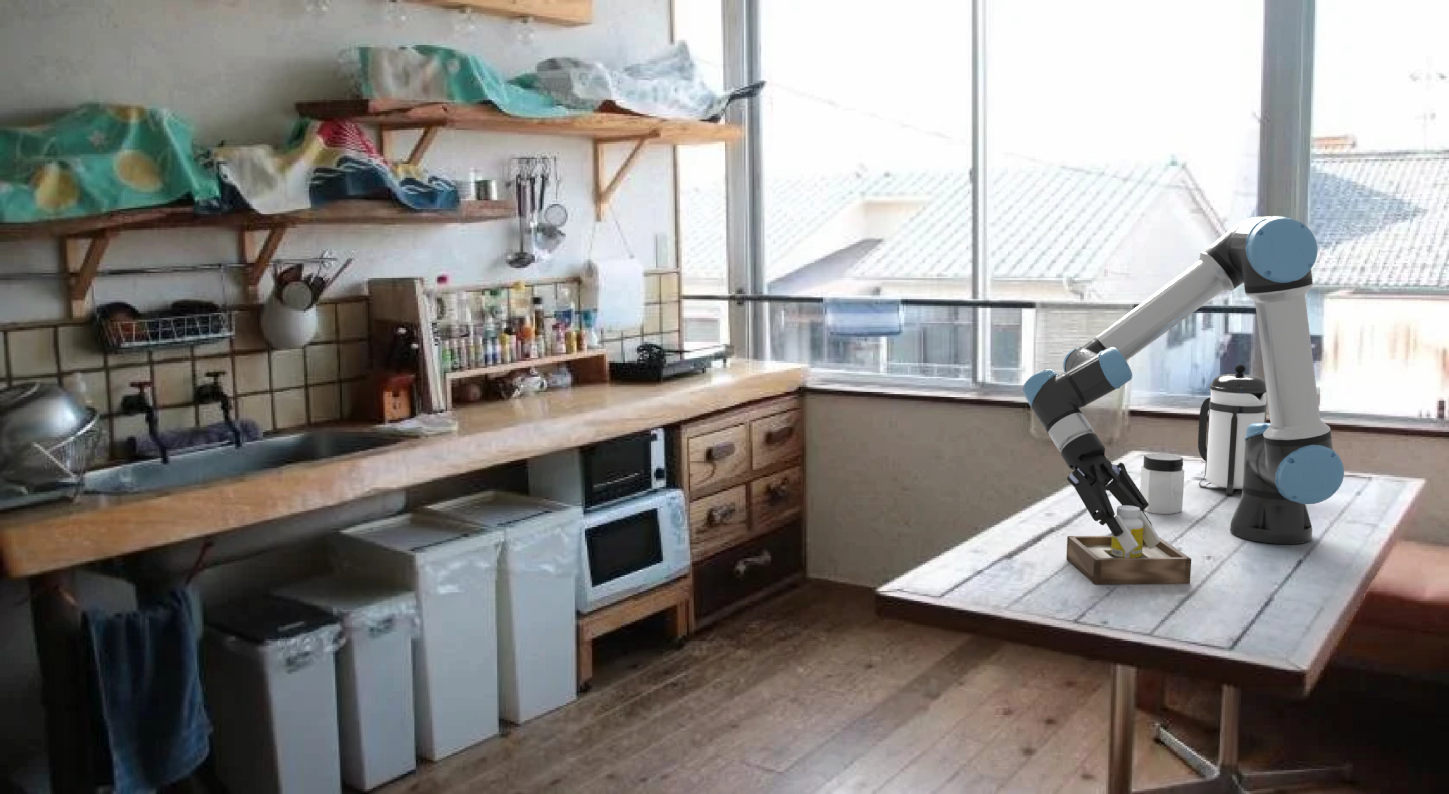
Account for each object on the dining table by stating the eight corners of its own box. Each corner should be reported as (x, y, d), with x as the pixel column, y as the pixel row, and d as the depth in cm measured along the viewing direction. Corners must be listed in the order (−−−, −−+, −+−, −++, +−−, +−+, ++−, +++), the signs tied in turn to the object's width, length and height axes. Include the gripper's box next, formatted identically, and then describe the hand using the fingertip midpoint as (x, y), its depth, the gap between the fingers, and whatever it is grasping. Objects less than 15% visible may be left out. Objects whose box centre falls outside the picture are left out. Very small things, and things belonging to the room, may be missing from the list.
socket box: (1155, 558, 231) (1156, 535, 231) (1189, 583, 215) (1191, 558, 215) (1066, 559, 231) (1067, 536, 230) (1094, 584, 215) (1095, 559, 214)
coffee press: (1272, 487, 292) (1280, 362, 288) (1261, 500, 279) (1269, 369, 274) (1196, 478, 301) (1203, 357, 297) (1181, 490, 288) (1189, 364, 283)
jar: (1163, 516, 263) (1166, 461, 262) (1132, 508, 270) (1134, 455, 268) (1189, 510, 268) (1192, 457, 267) (1158, 503, 275) (1160, 451, 273)
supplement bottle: (1141, 557, 224) (1144, 505, 223) (1141, 565, 219) (1144, 512, 218) (1111, 554, 226) (1113, 503, 225) (1110, 562, 221) (1112, 509, 220)
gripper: (1099, 449, 238) (1164, 550, 227) (1031, 459, 228) (1096, 565, 217) (1122, 426, 233) (1190, 529, 221) (1054, 435, 223) (1122, 543, 212)
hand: (1143, 547), depth 219 cm, fingers closed on supplement bottle, 5 cm apart
